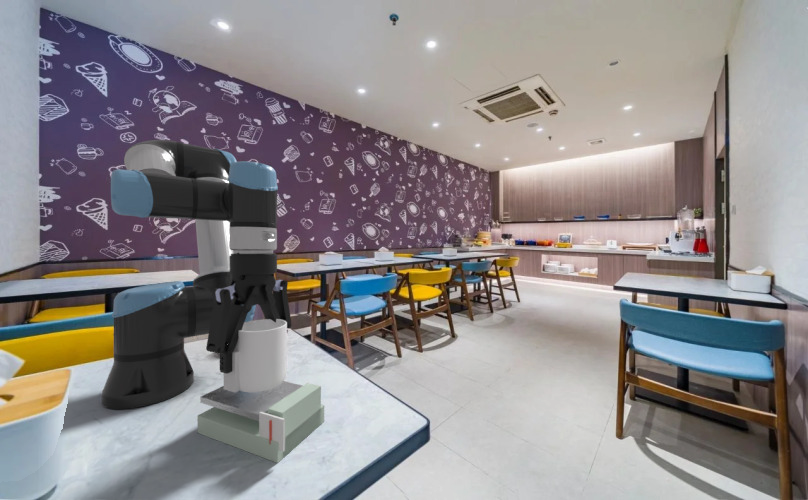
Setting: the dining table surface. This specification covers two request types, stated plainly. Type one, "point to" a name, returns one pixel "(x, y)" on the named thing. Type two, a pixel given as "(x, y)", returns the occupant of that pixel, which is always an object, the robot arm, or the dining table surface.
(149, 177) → the robot arm
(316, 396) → the scale base
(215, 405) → the speckled metal plate
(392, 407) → the dining table surface
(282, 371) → the cup
